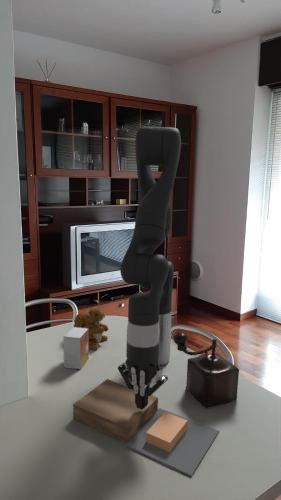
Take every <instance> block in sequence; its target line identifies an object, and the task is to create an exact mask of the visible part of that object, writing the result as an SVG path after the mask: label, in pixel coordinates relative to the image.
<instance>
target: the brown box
mask: <svg viewBox="0 0 281 500" xmlns="http://www.w3.org/2000/svg"><path fill="white" fill-rule="evenodd" d="M72 404H73V405H72V413H73V414H72V415H73V416H72V419H73V420H75V421H76V422H79V423H81V424H84V425H85V426H88V427H91V428H92V429H95V430H97V431H99V432H101V433H103V434H106V435H107V436H110V437H111V438H114V439H116V438H117V439H116V440H118V439H119V441H121V442H123V443H125V444H126V443H127V442H128V441H129V440H130V439H131V438H132V437H133V436H134V435H135V434H136V433H137V431H138V430H139V429H140V428H141V427H142V426H143V425H144V424H145V423H146V422H147V421H148V420H149V419H150V418H151V417H152V416H153V414H154V413H155V412H156V411H157V410H158V409H159V405H158V404H159V397H157V396H156V395H153V394H152V395H151V396H148V405H147V406H146V407H145V408H144V409H143V410H142V409H139V408H137V407H136V404H135V393H134V390H133V389H129V388H128V387H127V385H125V384H123V383H119V382H117V381H114V380H111V379H109V378H107V379H105V380H104V381H102V382H101V383H99V384H98V385H97V386H95V387H94V388H93V389H91V390H90V391H89V392H87V393H86V394H85V395H84V396H82V397H81V398H80V399H78V400H77V401H75V402H74V403H72Z"/></svg>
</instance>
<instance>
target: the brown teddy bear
mask: <svg viewBox="0 0 281 500" xmlns="http://www.w3.org/2000/svg"><path fill="white" fill-rule="evenodd" d="M85 313H86V314H85ZM85 313H83V312H78V314H76V316H75V318H74V320H73V322H74V323H73V327H78V328H87V329H89V349H90V350H94V351H97V350H98V349H99V345H98V344H100V342H105V341H107V340H108V338H109V337H108V336H107V335H103V333H104V332H108V331H109V326H108V324H104V323H102V321H103V320H104V319H105V317H106V316H105V314H104V311H102V310H101V309H100V308H98V307H97V306H96V305H95V306H93V307H91V308H89V309H86V310H85Z"/></svg>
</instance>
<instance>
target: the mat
mask: <svg viewBox="0 0 281 500" xmlns="http://www.w3.org/2000/svg"><path fill="white" fill-rule="evenodd" d="M164 412H167V413H170V414H172V415H175V416H177V417H180V418H183V419H185V420H188V423H187V430H186V432H185V433H184V434H183V436H182V437H181V438H180V440H179V441H178V442H177V443H176V445H175V446H174V447H173V449H172V450H171V451H170V452H167V451H165V450H163V449H161V448H158V447H156V446H154V445H152V444H150V443H147V442H146V432H147V431H148V430H149V429H150V428H151V427H152V425H153V424H154V423H155V422H156V421H157V420H158V419H159V418H160V417H161V416H162V415H163V413H164ZM219 433H220V430H218V429H216V428H212V427H211V426H208V425H205V424H203V423H200V422H197V421H195V420H192V419H190V418H187V417H184V416H181V415H179V414H176V413H174V412H171V411H168V410H165V409H163V408H160V407H158V410H157V411H156V412H155V413H154V414H153V416H152V417H151V418H150V419H149V420H148V421H147V422H146V423H145V424H144V425H143V426H142V427H141V428H140V429H139V430H138V431H137V433H136V434H135V435H134V436H133V437H132V438H131V439H130V440H129V441H128V442H127V443H125V444H124V447H126V448H128V449H130V450H132V451H135V452H137V453H139V454H141V455H143V456H145V457H147V458H150V460H151V459H152V460H154V461H156V462H158V463H160V464H162V465H164V466H167V467H168V468H171V469H173V470H175V471H178V472H180V473H182V474H184V475H186V476H187V477H191V478H192V477H193V475H194V474H195V472H196V470H197V469H198V467H199V465H201V462H202V460H203V459H204V457H205V456H206V454H207V453H208V451H209V449H210V447H211V446H212V444H213V443H214V441H215V439H216V438H217V436H218V434H219Z"/></svg>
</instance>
